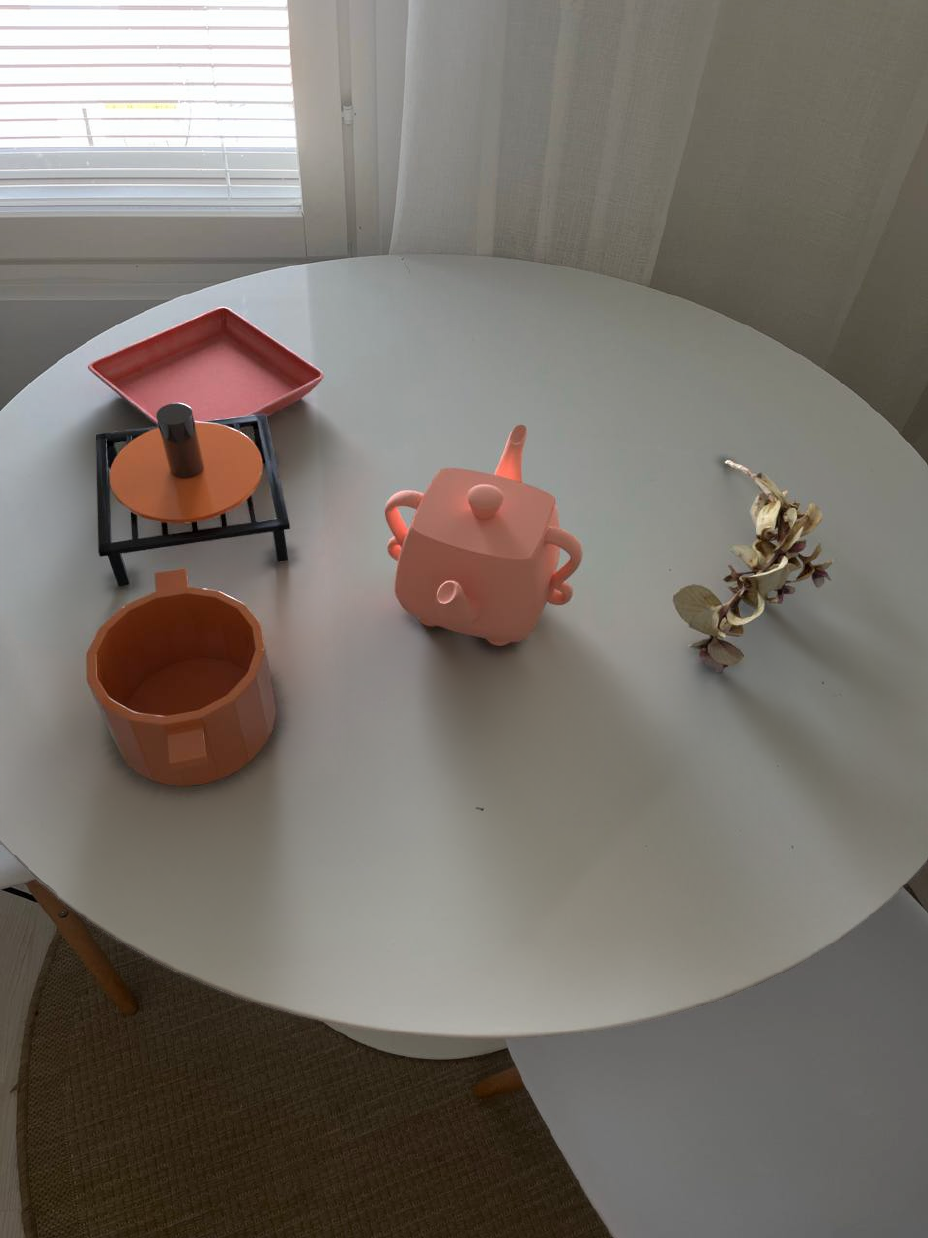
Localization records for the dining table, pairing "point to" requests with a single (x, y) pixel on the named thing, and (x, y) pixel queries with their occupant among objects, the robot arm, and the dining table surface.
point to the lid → (185, 469)
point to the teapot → (481, 550)
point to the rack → (115, 549)
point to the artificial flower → (753, 590)
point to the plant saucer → (209, 370)
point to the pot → (183, 683)
